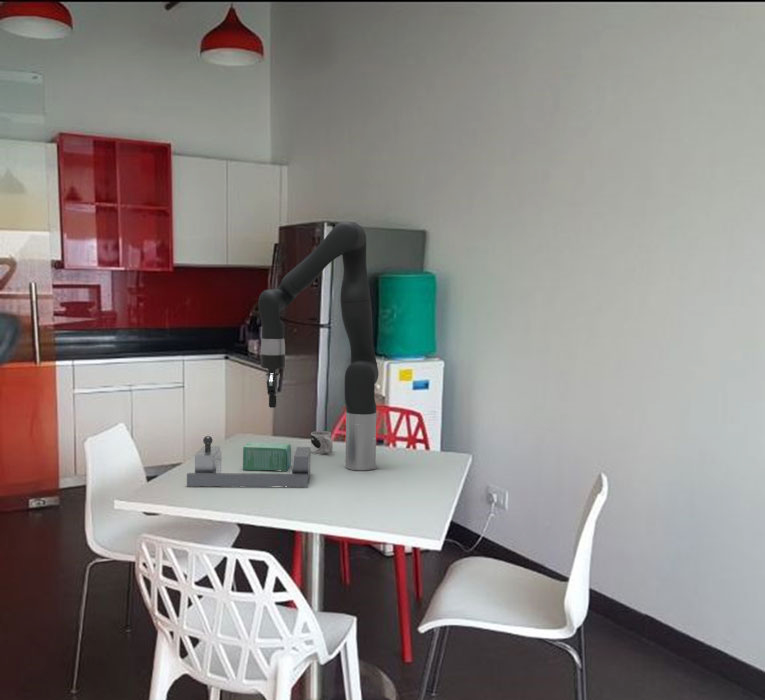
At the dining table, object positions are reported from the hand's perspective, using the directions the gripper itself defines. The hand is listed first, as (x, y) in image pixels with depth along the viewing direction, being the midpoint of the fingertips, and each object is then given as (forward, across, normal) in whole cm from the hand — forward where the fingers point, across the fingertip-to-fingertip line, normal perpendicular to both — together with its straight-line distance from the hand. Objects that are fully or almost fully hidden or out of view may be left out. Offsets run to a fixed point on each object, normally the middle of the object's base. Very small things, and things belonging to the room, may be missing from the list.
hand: (272, 407), depth 231 cm
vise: (+17, -24, +3) cm, 30 cm away
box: (+17, -11, 0) cm, 21 cm away
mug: (+17, +9, -16) cm, 25 cm away
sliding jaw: (+17, -23, +16) cm, 33 cm away
